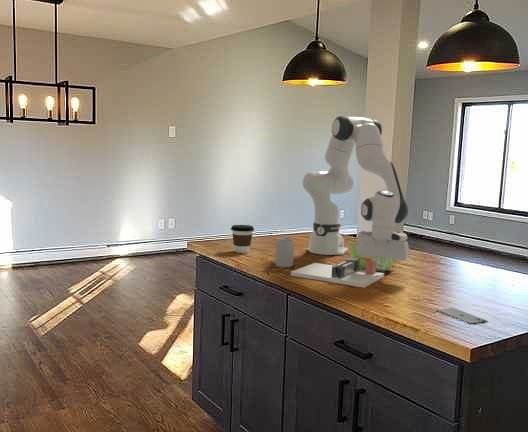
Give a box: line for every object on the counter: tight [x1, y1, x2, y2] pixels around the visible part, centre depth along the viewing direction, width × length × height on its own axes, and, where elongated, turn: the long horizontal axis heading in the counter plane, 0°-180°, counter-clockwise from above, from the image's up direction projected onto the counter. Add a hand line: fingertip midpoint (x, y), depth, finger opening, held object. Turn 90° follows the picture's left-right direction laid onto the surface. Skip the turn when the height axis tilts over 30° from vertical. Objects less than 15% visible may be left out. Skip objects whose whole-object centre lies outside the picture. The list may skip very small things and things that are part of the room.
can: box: [274, 236, 295, 269], centre depth 235 cm, size 8×8×12 cm
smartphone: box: [436, 307, 489, 325], centre depth 173 cm, size 7×1×15 cm
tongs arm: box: [332, 260, 348, 277], centre depth 218 cm, size 14×2×4 cm, turn 152°
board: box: [290, 262, 385, 289], centre depth 221 cm, size 22×30×2 cm
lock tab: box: [358, 257, 377, 274], centre depth 223 cm, size 3×6×6 cm, turn 60°
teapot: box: [347, 240, 396, 273], centre depth 235 cm, size 22×15×13 cm
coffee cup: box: [230, 224, 255, 254], centre depth 264 cm, size 11×11×12 cm
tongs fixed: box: [337, 256, 360, 278], centre depth 219 cm, size 18×5×5 cm, turn 150°
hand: (380, 268), depth 220 cm, fingers closed
